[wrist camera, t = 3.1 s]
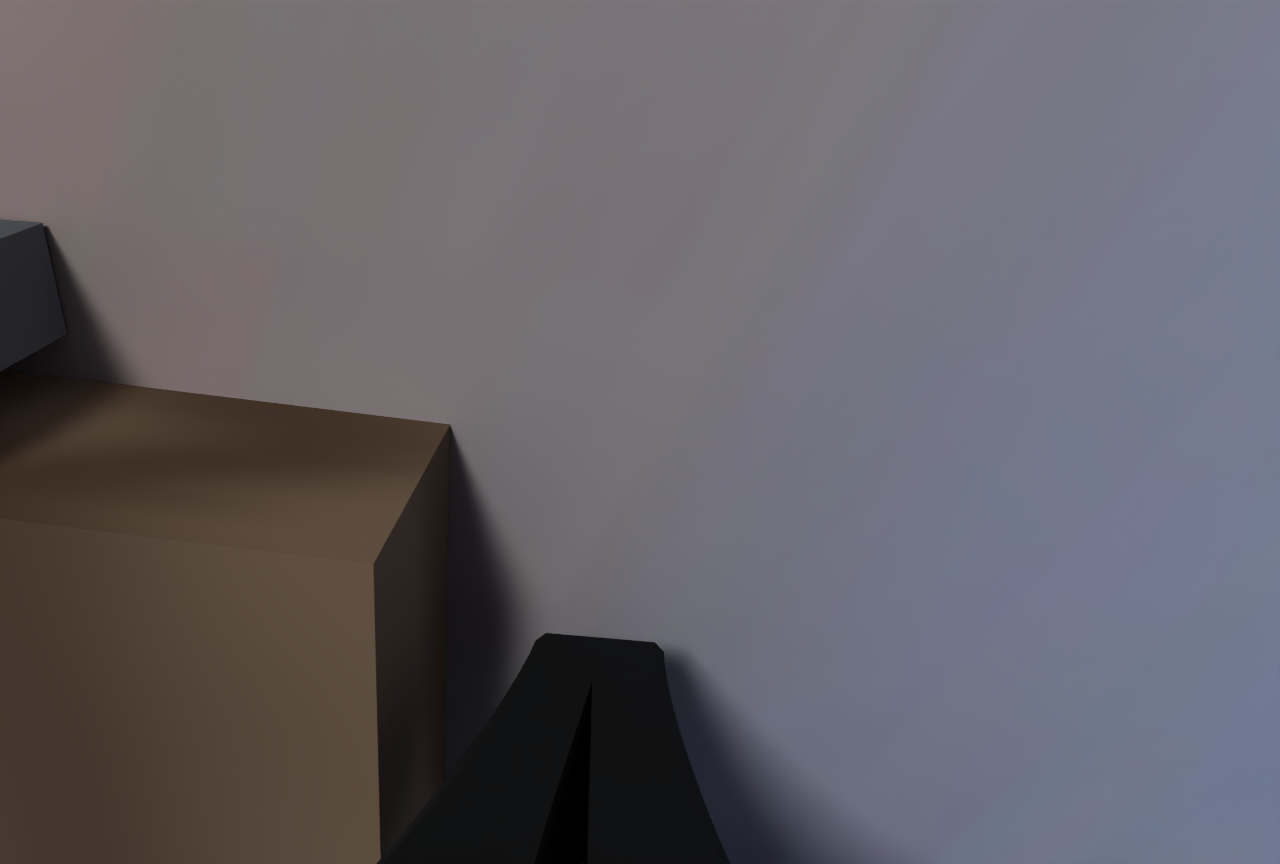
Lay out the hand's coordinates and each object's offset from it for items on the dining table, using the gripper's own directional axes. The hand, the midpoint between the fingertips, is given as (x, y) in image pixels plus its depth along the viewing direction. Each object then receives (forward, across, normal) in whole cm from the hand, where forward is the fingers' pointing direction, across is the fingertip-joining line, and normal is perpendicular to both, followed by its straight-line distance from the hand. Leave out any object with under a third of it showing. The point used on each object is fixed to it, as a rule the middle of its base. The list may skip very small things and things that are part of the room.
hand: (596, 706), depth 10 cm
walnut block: (+1, +5, 0) cm, 5 cm away
